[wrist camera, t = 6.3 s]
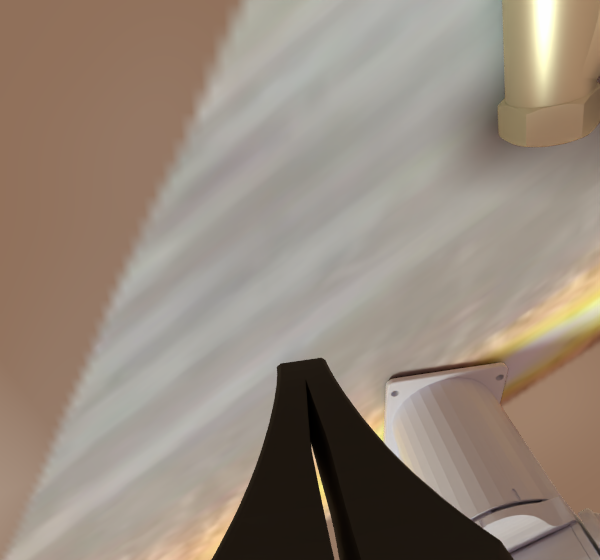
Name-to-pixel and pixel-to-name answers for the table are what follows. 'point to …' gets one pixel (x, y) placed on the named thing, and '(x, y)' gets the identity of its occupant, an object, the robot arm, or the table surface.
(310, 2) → the table surface
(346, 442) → the robot arm
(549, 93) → the pipe fitting
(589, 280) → the table surface
